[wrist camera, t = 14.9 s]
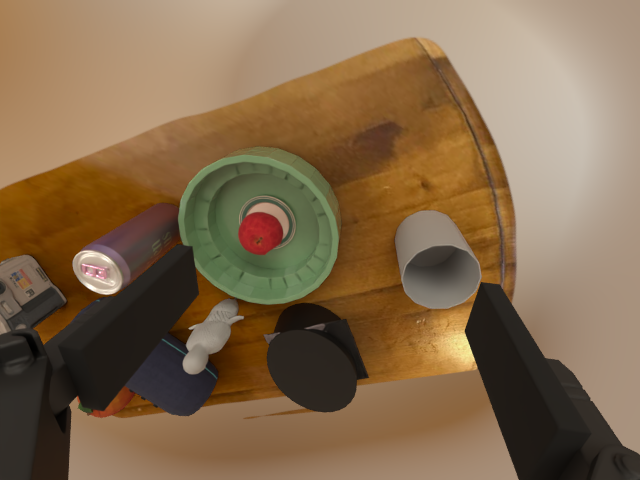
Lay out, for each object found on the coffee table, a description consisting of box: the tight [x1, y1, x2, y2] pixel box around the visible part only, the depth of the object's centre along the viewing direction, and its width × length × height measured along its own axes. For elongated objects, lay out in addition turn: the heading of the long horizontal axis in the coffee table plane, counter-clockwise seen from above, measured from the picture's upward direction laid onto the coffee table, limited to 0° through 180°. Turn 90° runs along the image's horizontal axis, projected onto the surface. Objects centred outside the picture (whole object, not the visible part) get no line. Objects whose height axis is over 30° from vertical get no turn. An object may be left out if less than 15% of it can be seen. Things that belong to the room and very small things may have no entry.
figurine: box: [183, 297, 244, 374], centre depth 47 cm, size 9×4×15 cm, turn 109°
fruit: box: [77, 386, 135, 418], centre depth 61 cm, size 10×10×10 cm
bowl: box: [178, 146, 342, 304], centre depth 44 cm, size 21×21×6 cm
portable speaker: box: [72, 297, 218, 416], centre depth 55 cm, size 25×10×10 cm, turn 50°
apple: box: [238, 196, 296, 255], centre depth 43 cm, size 8×8×6 cm
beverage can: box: [73, 203, 181, 294], centre depth 42 cm, size 6×6×15 cm
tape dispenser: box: [264, 303, 369, 412], centre depth 53 cm, size 14×18×8 cm
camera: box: [0, 255, 67, 335], centre depth 53 cm, size 11×6×10 cm, turn 14°
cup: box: [395, 210, 482, 309], centre depth 40 cm, size 8×8×10 cm
